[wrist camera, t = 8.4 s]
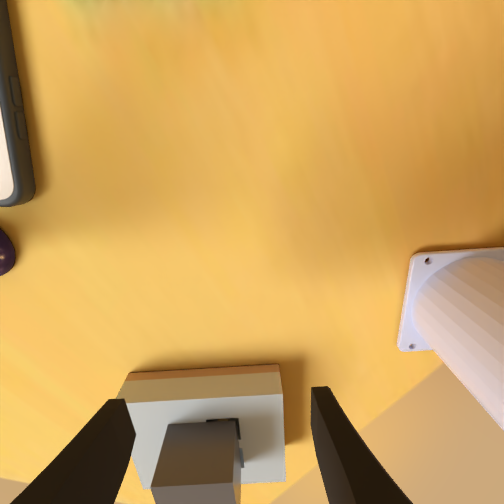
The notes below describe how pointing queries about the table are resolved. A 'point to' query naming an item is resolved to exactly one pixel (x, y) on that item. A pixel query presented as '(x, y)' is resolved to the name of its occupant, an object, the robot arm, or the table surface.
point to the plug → (199, 464)
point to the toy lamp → (6, 253)
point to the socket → (210, 414)
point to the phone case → (12, 125)
